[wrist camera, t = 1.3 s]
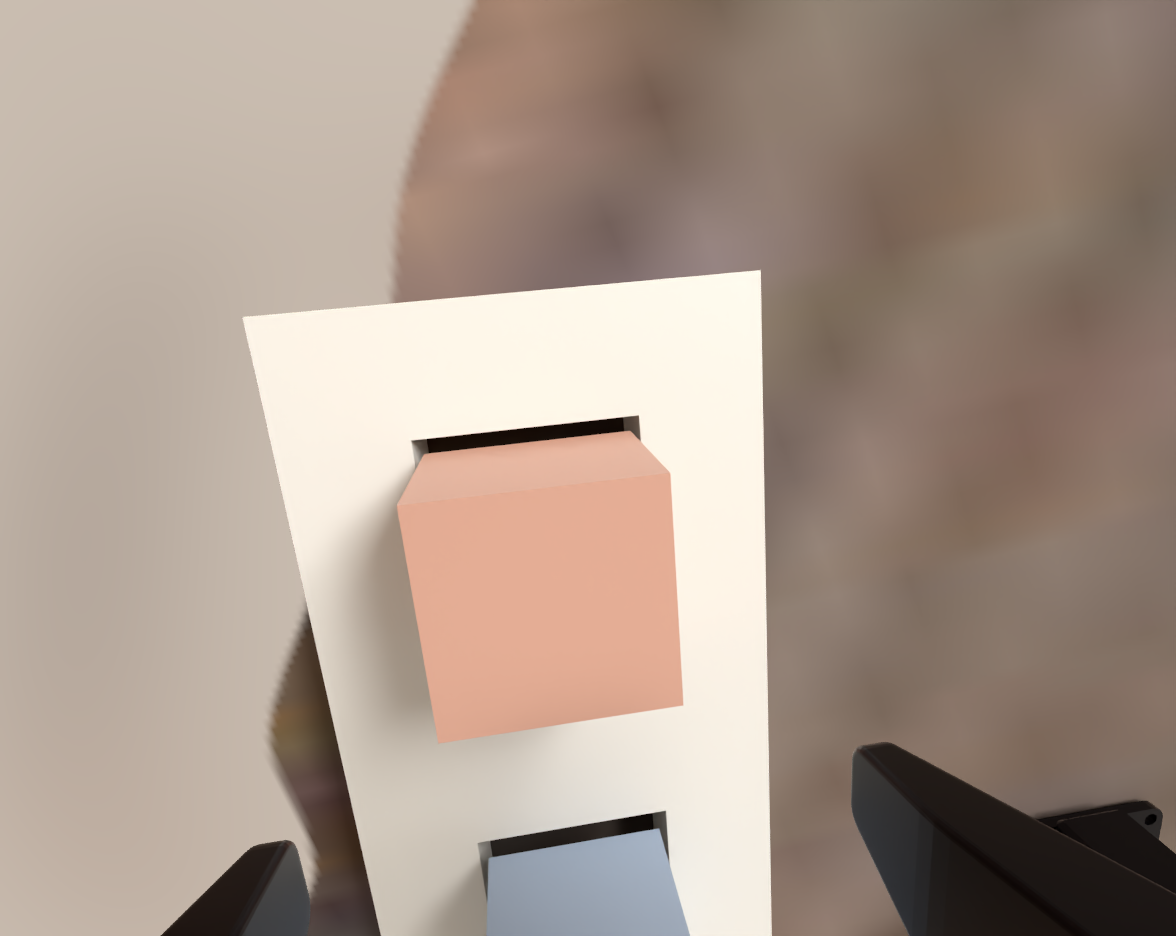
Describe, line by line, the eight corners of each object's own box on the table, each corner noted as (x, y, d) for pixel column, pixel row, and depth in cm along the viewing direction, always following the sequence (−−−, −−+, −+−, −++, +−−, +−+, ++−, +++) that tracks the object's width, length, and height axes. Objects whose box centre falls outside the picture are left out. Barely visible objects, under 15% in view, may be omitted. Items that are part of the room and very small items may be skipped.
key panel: (746, 937, 24) (772, 1008, 22) (423, 999, 23) (413, 1080, 21) (726, 274, 18) (760, 270, 15) (279, 314, 17) (242, 317, 14)
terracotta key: (643, 614, 17) (683, 705, 13) (453, 640, 17) (438, 743, 13) (630, 430, 16) (670, 472, 12) (424, 453, 15) (396, 505, 11)
